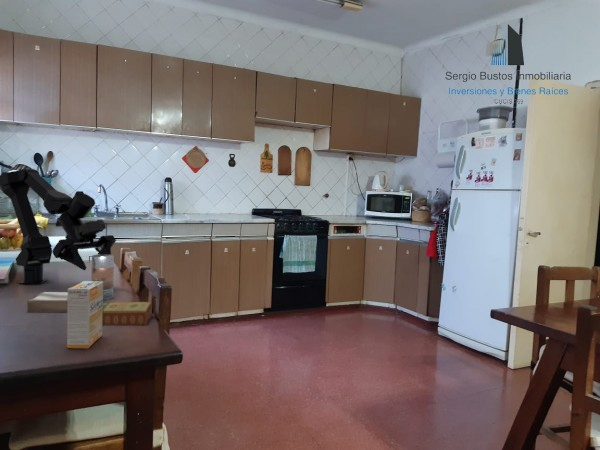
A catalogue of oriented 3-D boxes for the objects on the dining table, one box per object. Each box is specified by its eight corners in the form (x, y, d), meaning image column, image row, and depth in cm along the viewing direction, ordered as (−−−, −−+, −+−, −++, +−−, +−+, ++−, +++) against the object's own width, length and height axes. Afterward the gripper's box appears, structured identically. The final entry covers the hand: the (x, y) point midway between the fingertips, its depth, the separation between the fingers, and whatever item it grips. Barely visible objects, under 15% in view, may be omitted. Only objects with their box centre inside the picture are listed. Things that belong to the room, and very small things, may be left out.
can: (94, 295, 138) (95, 253, 136) (115, 295, 139) (116, 254, 137) (88, 300, 132) (89, 257, 130) (110, 300, 133) (111, 257, 132)
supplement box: (89, 349, 95) (90, 289, 94) (66, 348, 95) (66, 288, 93) (103, 336, 103) (104, 280, 102) (82, 335, 103) (82, 279, 102)
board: (42, 302, 128) (42, 291, 127) (79, 302, 129) (79, 291, 129) (27, 312, 118) (27, 300, 118) (68, 312, 120) (68, 300, 119)
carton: (146, 326, 112) (146, 310, 112) (78, 326, 110) (78, 309, 109) (151, 316, 121) (152, 301, 120) (89, 316, 118) (89, 300, 118)
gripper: (58, 212, 128) (84, 254, 124) (112, 210, 144) (136, 247, 140) (41, 236, 132) (65, 278, 128) (95, 232, 149) (118, 268, 145)
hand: (98, 267), depth 135 cm, fingers open, 9 cm apart
